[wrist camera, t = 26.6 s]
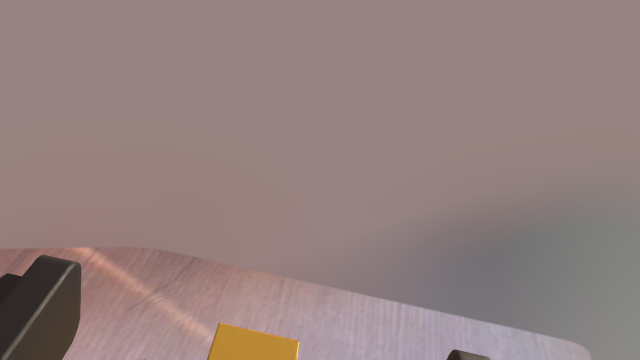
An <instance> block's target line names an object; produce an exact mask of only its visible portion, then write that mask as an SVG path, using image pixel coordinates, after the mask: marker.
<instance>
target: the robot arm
mask: <svg viewBox="0 0 640 360" xmlns="http://www.w3.org/2000/svg"><path fill="white" fill-rule="evenodd" d="M80 302H81V265H80V264H79V263H78V262H73V261H69V260H64V259H60V258H56V257H51V256H47V255H41V256H39V257H38V258H37V259H36V260H35V262H34V263H33V264H32V265H31V266H30V268H29V269H28V270H27V271H26V272H25V274H24V275H23V276H17V275H13V274H6V275H4V276H2V277H1V278H0V360H62V359H63V357H64V355H65V354H66V352H67V350H68V349H69V347H70V345H71V344H72V342H73V339H74V337H75V334H76V332H77V329H78V325H79V320H80ZM447 360H490V358H488V357H486V356H481V355H477V354H472V353H468V352H464V351H459V350H453V351H452V352H451V353H450V354H449V356H448V358H447Z"/></svg>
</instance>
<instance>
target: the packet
mask: <svg viewBox="0 0 640 360" xmlns="http://www.w3.org/2000/svg"><path fill="white" fill-rule="evenodd" d="M298 349H299V341H297V340H293V339H288V338H284V337H280V336H275V335H271V334H266V333H262V332H257V331H253V330H249V329H244V328H240V327H235V326H231V325H226V324H222V323H219V324H218V328H217V331H216V334H215V337H214V340H213V343H212V346H211V349H210V352H209V355H208V359H207V360H297V356H298Z"/></svg>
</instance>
